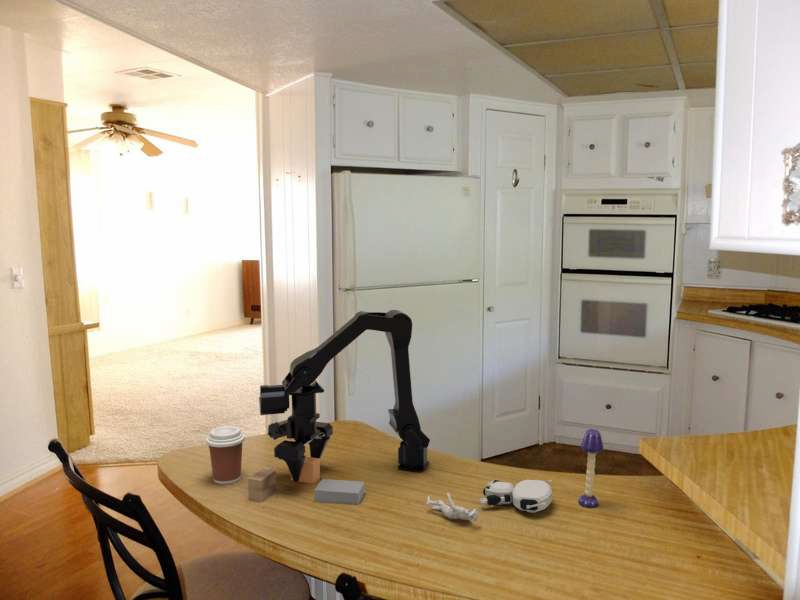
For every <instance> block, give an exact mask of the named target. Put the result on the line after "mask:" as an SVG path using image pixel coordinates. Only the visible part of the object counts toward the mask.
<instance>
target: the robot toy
mask: <svg viewBox="0 0 800 600" xmlns="http://www.w3.org/2000/svg"><path fill="white" fill-rule="evenodd" d="M552 481H553V480H551V479H550V480H545V481H544V480H538V479H537V480H536V479H524V480H521V481H519V482H518V483H516V484H515V485H513V483H510V482H505V481H502V480H499V479H495V480H490V481H488V482H487V485H486V486H485V487H484V488H483V491H482V494H483V495H484V496H485V497H482V498H479V503H480V504H481V505H486V504H487V506H502V505H510V504H513V505H514V507H516V508H517V509H518V510H520V511H526V512H528V513H530V514H534V513H535V514H536V513H537V512H540V511H543V510H545V509H546V508H548V507H549V506H550V505H551V503H552V501H553V494H552V493H553V492H552V486H551V485H550V484H549V483H551V482H552Z"/></svg>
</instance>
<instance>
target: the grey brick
mask: <svg viewBox="0 0 800 600" xmlns="http://www.w3.org/2000/svg"><path fill="white" fill-rule="evenodd" d="M365 487H366V482H365V481H358V480H357V481H356V480H345V479H344V480H343V479H341V480H340V479H330V478H329V479H328V478H321V480H320V481H319V482H318V484H317V486H316V487H315V489H314V502H319V503H330V502H332V503H334V504H343V503H344V504H343V505H345V504H346V505H355V504H359V505H360V503H361V501H362V499H363V497H364V495H365V494H364V493H365V492H366V488H365Z"/></svg>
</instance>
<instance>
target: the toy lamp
mask: <svg viewBox="0 0 800 600" xmlns="http://www.w3.org/2000/svg"><path fill="white" fill-rule="evenodd" d="M602 438H603V437H602V434H601V432H600V431H599V430H598V429H593V428H588V429H587V430H586V431H585V433H584V436H583V438H582V442H581V444H580V447H581V449H582V450H583V451H584V452H587V463H586V473H585V474H586V476H585V481H586V482H585V485H584V487H585V490H584V494H582V495H580V496H579V498H578V504H579V505H580V506H582V507H584V508H588V509H593V508H594V509H595V508H598V506H599V505H600V504H599V501H598V498H597V497H596V496H595V495H594V491H593V490H594V481H595V474H596V473H595V468H596V455H597V454H598V453H602V452H603V451H604V443H603V439H602Z"/></svg>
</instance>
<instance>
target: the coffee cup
mask: <svg viewBox="0 0 800 600" xmlns="http://www.w3.org/2000/svg"><path fill="white" fill-rule="evenodd" d="M245 439H246V435H245V434H244V433H243V432H242V430H241V429H240V427H238V426H236V425H235V426H234V425H222V426H219V427H215V428H213V429H211V430H210V432H209V434H208V436H207V437H206V438H205V443H206V445H207V446H208V448H209V455H210V463H211V464H210V465H211V470H212V478H213V479H212V480H213V481H214V482H213V483H216V484H219V485H220V484H221V485H229V484H233V483H236V482H238V481H239V480H241V478H242V463H243V462H242V461H243V460H242V459H243V442H245Z"/></svg>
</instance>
